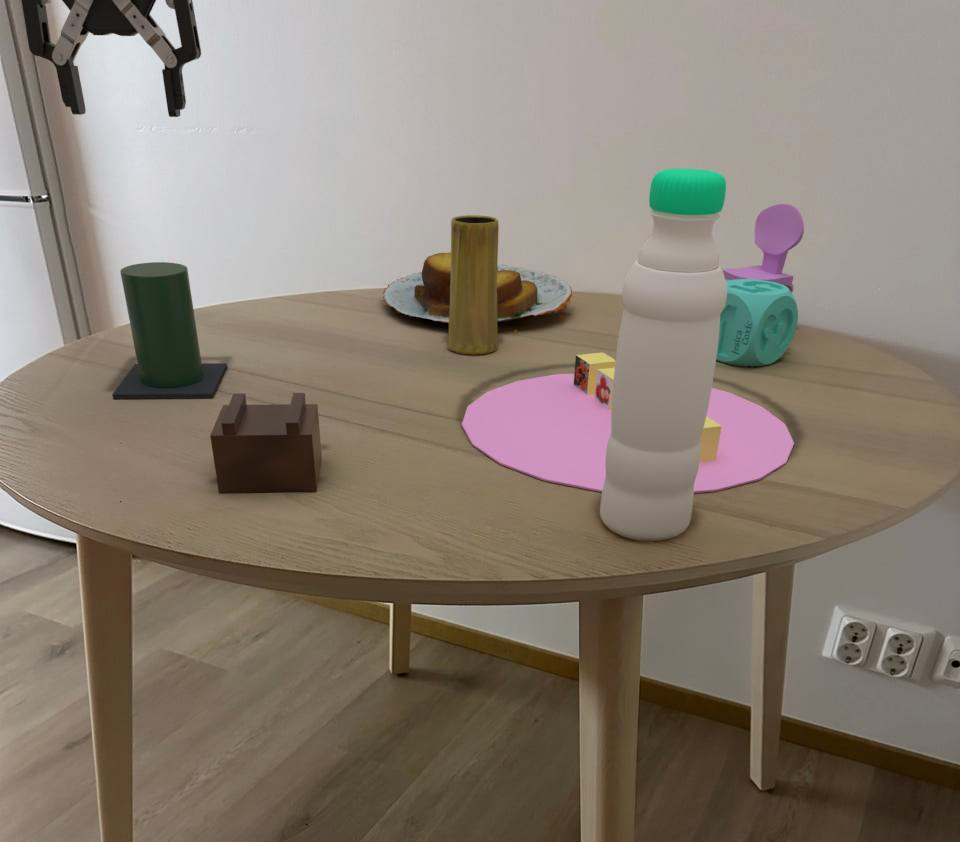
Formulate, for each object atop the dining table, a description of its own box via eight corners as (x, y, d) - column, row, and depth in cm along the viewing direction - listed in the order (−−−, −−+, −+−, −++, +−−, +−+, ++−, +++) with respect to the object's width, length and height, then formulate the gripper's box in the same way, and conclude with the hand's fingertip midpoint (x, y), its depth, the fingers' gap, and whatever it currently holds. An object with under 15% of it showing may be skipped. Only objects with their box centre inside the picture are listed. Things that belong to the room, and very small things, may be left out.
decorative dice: (694, 353, 111) (704, 284, 106) (737, 343, 115) (749, 275, 110) (747, 371, 105) (760, 298, 101) (790, 359, 109) (805, 289, 105)
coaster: (113, 399, 94) (112, 394, 93) (135, 368, 102) (134, 363, 102) (213, 398, 95) (212, 393, 94) (227, 367, 103) (226, 363, 102)
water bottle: (580, 520, 73) (611, 168, 59) (640, 496, 77) (682, 161, 63) (647, 553, 69) (698, 182, 55) (707, 527, 72) (769, 173, 58)
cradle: (218, 493, 76) (208, 423, 72) (230, 459, 82) (221, 393, 78) (316, 491, 76) (310, 422, 73) (321, 458, 82) (316, 392, 79)
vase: (506, 344, 112) (510, 217, 104) (485, 358, 107) (488, 226, 99) (460, 337, 114) (462, 212, 106) (438, 350, 109) (437, 220, 101)
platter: (680, 362, 108) (684, 333, 106) (867, 467, 83) (877, 431, 81) (419, 390, 98) (418, 358, 96) (543, 518, 73) (546, 479, 71)
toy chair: (700, 327, 120) (719, 201, 112) (754, 321, 123) (777, 198, 115) (740, 345, 114) (764, 213, 105) (796, 338, 117) (823, 209, 109)
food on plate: (606, 320, 122) (611, 268, 118) (439, 345, 111) (439, 289, 108) (506, 279, 140) (508, 232, 136) (355, 297, 130) (352, 247, 126)
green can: (148, 368, 100) (134, 388, 95) (128, 261, 94) (113, 276, 89) (208, 368, 101) (197, 387, 96) (192, 262, 95) (180, 276, 89)
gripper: (-18, -122, 72) (34, 117, 81) (170, -114, 73) (200, 120, 82) (15, -111, 78) (59, 110, 87) (187, -104, 79) (213, 113, 88)
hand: (127, 115), depth 84 cm, fingers open, 8 cm apart
